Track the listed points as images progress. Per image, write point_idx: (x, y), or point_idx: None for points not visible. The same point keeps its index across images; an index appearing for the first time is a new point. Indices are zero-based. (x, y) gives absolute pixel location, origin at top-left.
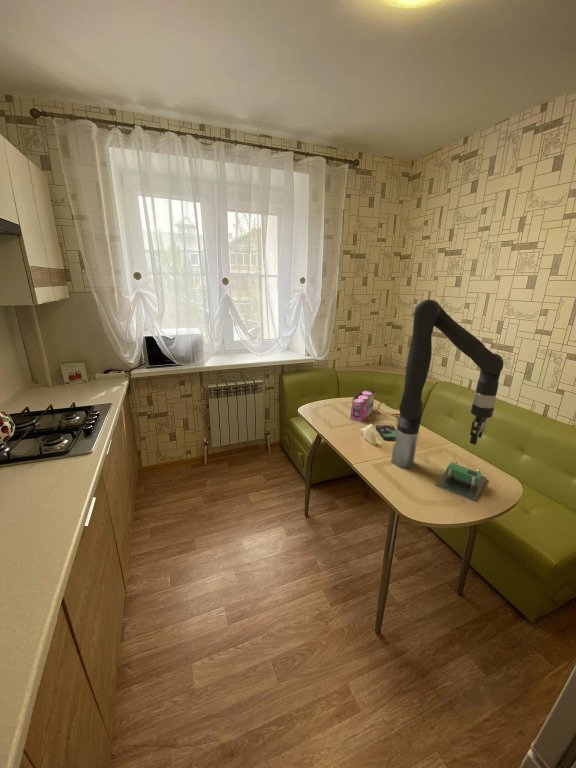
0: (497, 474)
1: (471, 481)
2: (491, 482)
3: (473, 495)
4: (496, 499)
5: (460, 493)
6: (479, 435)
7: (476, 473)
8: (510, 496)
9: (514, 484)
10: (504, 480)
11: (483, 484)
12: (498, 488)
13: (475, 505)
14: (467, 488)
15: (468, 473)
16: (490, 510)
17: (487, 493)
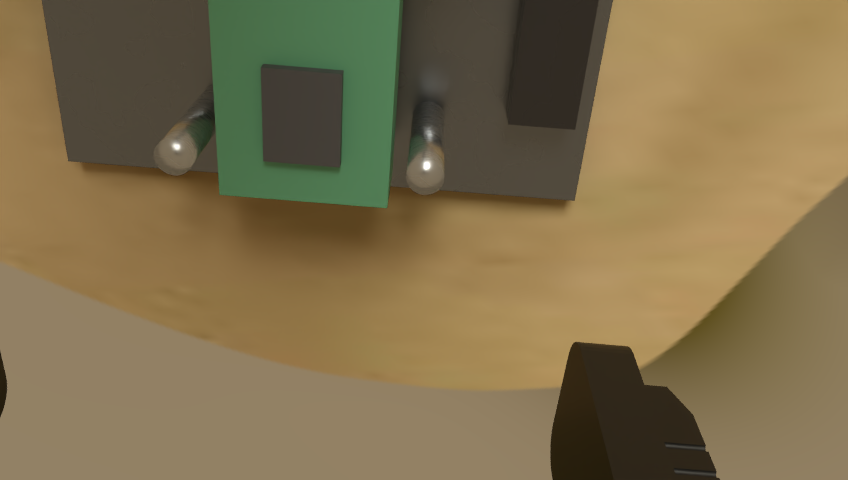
0: (743, 262)
1: (181, 119)
2: (538, 231)
3: (115, 133)
4: (262, 287)
5: (46, 17)
6: (566, 457)
7: (329, 162)
8: (395, 365)
9: None
10: (652, 317)
11: (401, 186)
12: (464, 287)
13: (16, 159)
14: (197, 64)
15: (257, 79)
16: (54, 263)
17: (304, 220)
